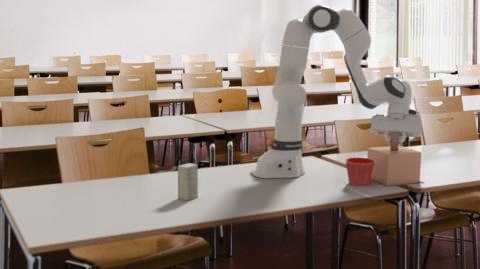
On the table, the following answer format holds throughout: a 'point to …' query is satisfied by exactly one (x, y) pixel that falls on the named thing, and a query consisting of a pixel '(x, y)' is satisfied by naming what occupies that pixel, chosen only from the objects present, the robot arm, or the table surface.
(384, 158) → the box with top peg
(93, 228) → the table surface
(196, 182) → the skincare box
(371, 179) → the mat
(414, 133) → the robot arm
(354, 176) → the flower pot
